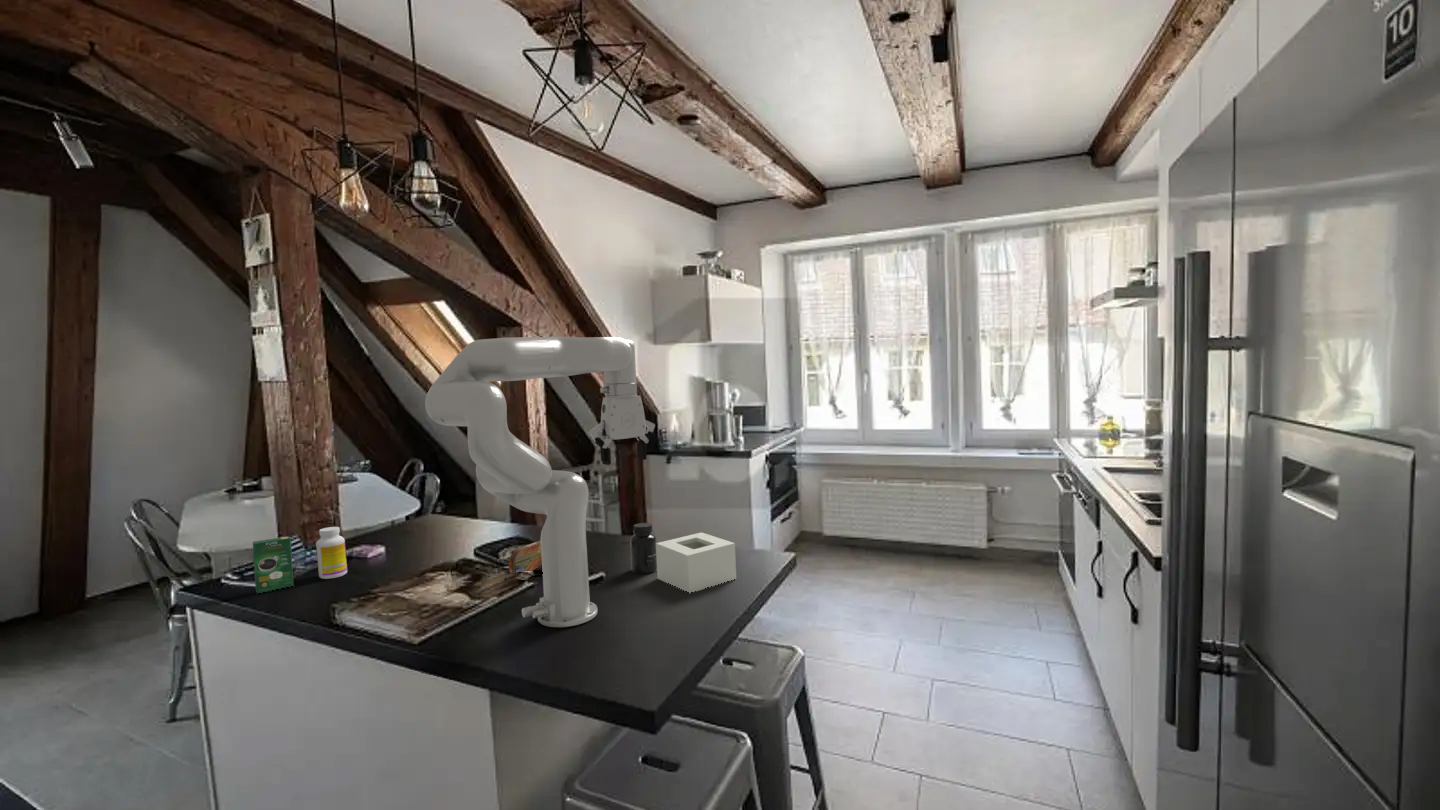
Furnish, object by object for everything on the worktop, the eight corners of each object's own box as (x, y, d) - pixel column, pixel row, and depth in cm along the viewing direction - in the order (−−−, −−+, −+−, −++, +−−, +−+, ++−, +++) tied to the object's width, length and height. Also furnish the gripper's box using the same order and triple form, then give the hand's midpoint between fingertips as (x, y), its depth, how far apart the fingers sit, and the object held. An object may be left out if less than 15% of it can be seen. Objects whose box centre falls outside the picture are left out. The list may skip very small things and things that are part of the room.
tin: (515, 585, 161) (513, 552, 160) (507, 583, 162) (505, 550, 162) (560, 567, 173) (558, 536, 173) (552, 566, 175) (550, 535, 175)
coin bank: (689, 593, 150) (687, 555, 150) (657, 578, 161) (655, 543, 161) (736, 579, 159) (734, 543, 158) (703, 566, 170) (701, 532, 169)
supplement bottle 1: (352, 573, 175) (348, 527, 174) (326, 581, 170) (322, 533, 169) (339, 570, 179) (335, 524, 178) (314, 577, 173) (309, 530, 172)
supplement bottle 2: (656, 574, 165) (653, 528, 164) (629, 575, 165) (627, 528, 164) (659, 565, 172) (657, 521, 171) (633, 566, 172) (631, 522, 171)
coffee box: (293, 584, 169) (289, 534, 168) (295, 586, 166) (290, 536, 165) (255, 592, 164) (251, 541, 163) (256, 595, 161) (251, 543, 160)
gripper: (595, 393, 146) (599, 468, 148) (660, 388, 157) (663, 458, 158) (580, 392, 152) (584, 464, 153) (644, 388, 163) (647, 455, 164)
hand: (624, 461), depth 156 cm, fingers open, 9 cm apart
